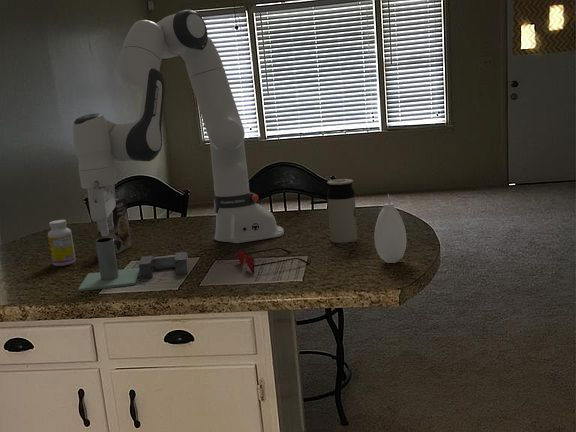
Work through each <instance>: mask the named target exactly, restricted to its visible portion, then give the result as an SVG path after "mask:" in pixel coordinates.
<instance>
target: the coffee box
mask: <svg viewBox="0 0 576 432" xmlns="http://www.w3.org/2000/svg"><path fill="white" fill-rule="evenodd" d="M127 209H128V208H127V203H126V197H116V206H115V208H114V209H113V211H112V212H113V225H114V226H113V228H109V229H108V230H109V234H108V236H104V237H103V236H101V232H100V229H99V226H98V223H97V222H96V226H97V233H98V239H102V238H113V240H114V247H115V254H120V253H122V252H124V251H126V250H127V249H129V248H131V247H132V241H131V240H132V238H131V233H130V232H131V231H130V226H129V225H130V224H129V217H128V210H127Z"/></svg>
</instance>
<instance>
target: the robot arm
mask: <svg viewBox="0 0 576 432" xmlns="http://www.w3.org/2000/svg"><path fill="white" fill-rule="evenodd" d="M208 35H209V34H208V30H207V25H206V22H205V20H204V19H203V17H202V16H201V15H200V14H199V13H198V12H197V11H195V10H192V9H184V10H179V11H178V12H176V13H173V14H170V15H168V16H165V17H163V18H162V19H161V20H159V21H157V22H154V21H153V20H152V21H151V20H147V19H139V20H137V21H135V22H134V23H133V25H132V26H131V27H130V28H129V31H128V33H127V35H126V37H125V39H124V42H123V44H122V47H121V51H120V53H119V57H118V61H117V72H118V75H119V77H120V79H122V81H123V82H124V83H125V84H126V85H127V86H129V87H131V88H132V89H134V90H136V91H139V92H141V93H142V94H141V95H142V97H141V105H140V114H139V117H138V119H137V120H136V121H134V122H131V123H120V124H119V123H116V122H112V121H111V120H108V119H107V118H105V117H104V115H103V113H90V114H86V115H83V116H80V117H78V118H76V119H75V120H74V121H73V124H72V140H73V147H74V151H75V154H76V155H75V156H76V157H77V160H78V175H79V179H80V186H81V189H86V190H87V194H88V195H87V197H88V198H87V199H88V206H89V212H90V219H91V221H92V222H93V223H95V222H96V224H97V223H98V226H99V229H100V232H101V236H103V237H104V236H108V234H109V230H108V229H109V228H113V226H114V225H113V212H112V211H113V209H114V208H115V206H116V198H117V197H116V187H115V185H117V184H118V177H117V171H116V166H115V162H129V161H136V162H152V161H153V160H155V159H156V157H157V156H158V155H159V153H160V151H161V150H162V148H163V147H162V146H163V133H162V127H163V125H162V122H163V115H164V114H163V113H164V104H165V94H166V90H165V89H166V85H165V83H166V81H165V78H164V75H163V74H162V72H161V71H160V69H161V65H162V61H166V60H169V59H171V58H175V57H181V58H182V60H183V61H184V63H185V68H186V71H187V74H188V78H189V81H190V84H191V87H192V91H193V92H194V97H195V99H196V102H197V105H198V109H199V112H200V115H201V118H202V122H203V124H204V127H205V131H206V134H207V137H208V140H209V147H210V158H211V169H212V170H211V171H212V172H211V173H212V178H213V179H212V180H213V190H214V195H213V206H214V211H215V213H216V214H215V215H216V216H215V217H216V218H215V220H216V221H215V222H216V223H215V233H214V240H215V241H218V242H222V243H223V242H226V243H233V244H240V243H246V242H253V241H260V240H267V239H272V238H279V237H280V238H281V237H282V236H283V235H284V234H285V231H284V228H283V227H281V226H280V225H277V221H276V219H275V218H276V217H275V216H274V214H273V213H272V212H271V211H269V210H268V209H266V208H265V207H263V206H262V205H260V204H258V203H257V202H258V201H259V195H258V194H256V193H254V192H252V191H250V182H249V174H248V166H247V157H246V156H247V155H246V146H245V145H246V144H245V134H246V133H245V128H244V125H243V123H242V119H241V116H240V113H239V110H238V107H237V104H236V102H235V98H234V95H233V93H232V89H231V86H230V83H229V80H228V76H227V73H226V71H225V67H224V64H223V61H222V59H221V57H220V54H219V52H218V49H217V48H216V46H215V44H214V42H213V40H212V39H211V38H210V37H209V36H208Z"/></svg>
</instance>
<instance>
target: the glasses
mask: <svg viewBox="0 0 576 432" xmlns="http://www.w3.org/2000/svg"><path fill="white" fill-rule="evenodd" d="M273 250H281V251H284V252H285V253H287V254H289V253H290V254H292V252H291V251H289V250H287V249H286V248H285V249H284V248H282V247H273V248H270V249H269V248H267V249H262V250H255V251H252V252H251V251H250V252H247V251H246V250H243V249H242V248H240V247H239V248H238V251H237V254H234V257H237V258H238V261H239V263H240V265H241V264H242V265H241V266H243V265H244V263H246V265H247V266H248V268H249V270H250V272H251V274H255V268H256V267H260V266H267V265H271V264H277V263H281V262H288V261H292V260H299V261H301V262H303V263H305V264H306V265H311V262H308V261H307V260H305V259H302V258H300V257H293V258H288V259H281V260H276V261H271V262H270V261H269V262H266V263H260V264H255V261H254V260H255V259H254V257H253V256H252V255H251V254H257V253H263V252H267V251H268V252H269V251H273Z"/></svg>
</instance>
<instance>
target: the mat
mask: <svg viewBox="0 0 576 432" xmlns="http://www.w3.org/2000/svg"><path fill="white" fill-rule="evenodd" d="M138 277H140V271H139V267H134V268H125V269H118V277H117V278H115V279H111V280H102V279H101V276H100V271H98V272H88V273H87V275H86V276H85V278H84V279H83V281H82V282H81V284H80V285H79V286H78V289H77V290H78V292H84V291H93V290H100V289H102V290H103V289H109V288H111V289H112V288H118V287H127V286H136V284H137V281H138V279H139V278H138Z"/></svg>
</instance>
